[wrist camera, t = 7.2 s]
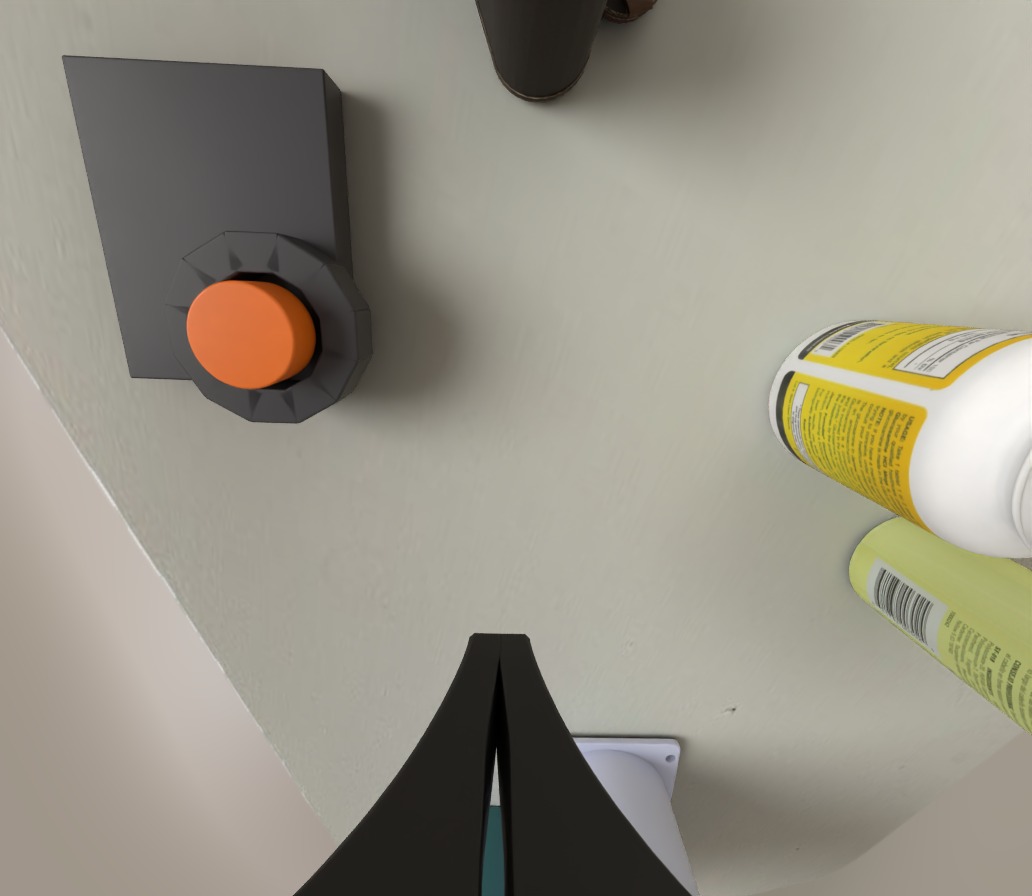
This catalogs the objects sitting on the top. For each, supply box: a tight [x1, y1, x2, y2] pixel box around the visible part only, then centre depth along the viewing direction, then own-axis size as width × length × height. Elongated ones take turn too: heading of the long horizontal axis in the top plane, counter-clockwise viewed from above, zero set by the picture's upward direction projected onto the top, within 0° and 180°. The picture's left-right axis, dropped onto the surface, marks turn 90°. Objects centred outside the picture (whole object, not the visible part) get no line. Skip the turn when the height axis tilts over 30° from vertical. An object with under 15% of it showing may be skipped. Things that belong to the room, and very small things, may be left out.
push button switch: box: [62, 55, 372, 423], centre depth 16 cm, size 11×9×4 cm
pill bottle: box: [769, 320, 1032, 558], centre depth 15 cm, size 6×6×11 cm
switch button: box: [187, 280, 316, 389], centre depth 15 cm, size 3×3×2 cm
